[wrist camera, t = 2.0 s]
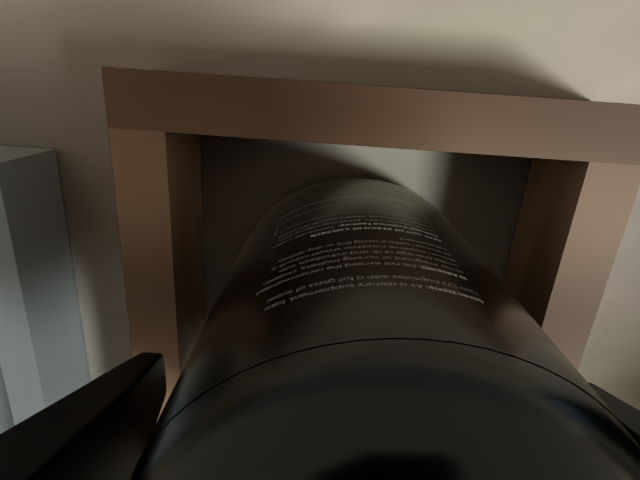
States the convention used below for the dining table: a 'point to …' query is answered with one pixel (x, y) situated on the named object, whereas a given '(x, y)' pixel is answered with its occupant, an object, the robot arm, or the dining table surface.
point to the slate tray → (36, 289)
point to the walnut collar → (376, 131)
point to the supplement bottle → (376, 360)
